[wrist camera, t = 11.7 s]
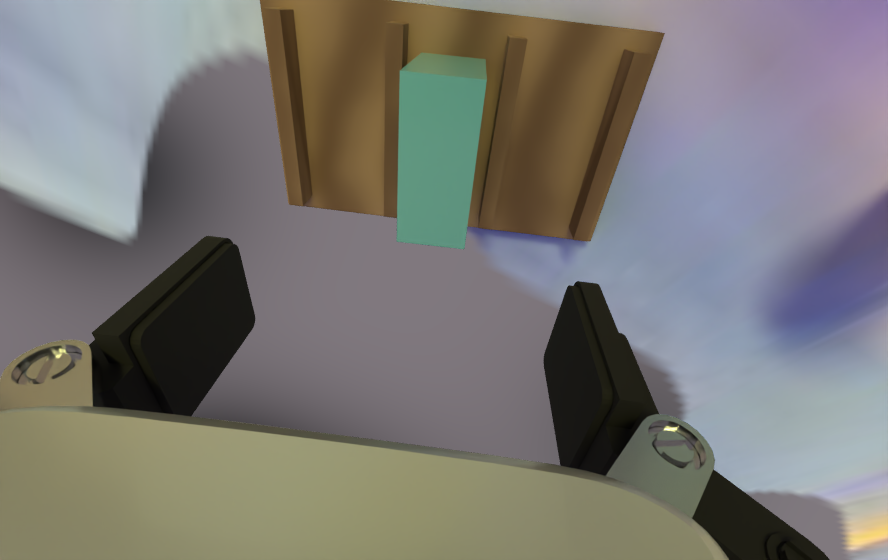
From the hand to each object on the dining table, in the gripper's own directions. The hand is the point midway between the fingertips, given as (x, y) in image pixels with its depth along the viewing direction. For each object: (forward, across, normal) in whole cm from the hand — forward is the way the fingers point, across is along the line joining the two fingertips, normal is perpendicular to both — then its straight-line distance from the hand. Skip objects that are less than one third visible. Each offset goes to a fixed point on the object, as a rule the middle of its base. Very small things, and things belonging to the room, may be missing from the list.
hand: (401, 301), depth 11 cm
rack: (+20, 0, 0) cm, 20 cm away
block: (+19, 0, 0) cm, 19 cm away
